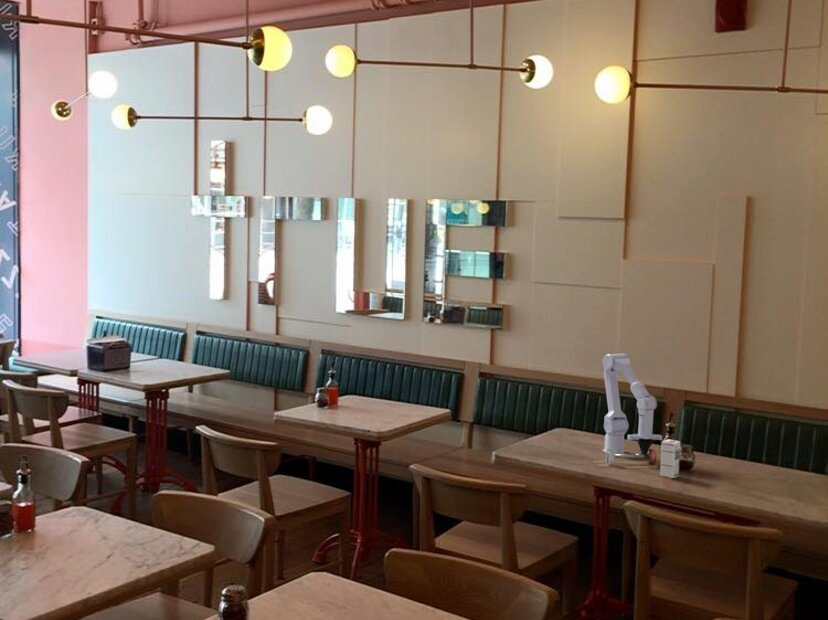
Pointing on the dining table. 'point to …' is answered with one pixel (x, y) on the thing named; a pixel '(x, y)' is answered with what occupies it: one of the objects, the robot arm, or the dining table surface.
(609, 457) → the square metal loop
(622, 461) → the light tan board
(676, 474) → the syrup box
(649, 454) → the red knobbed metal rod
